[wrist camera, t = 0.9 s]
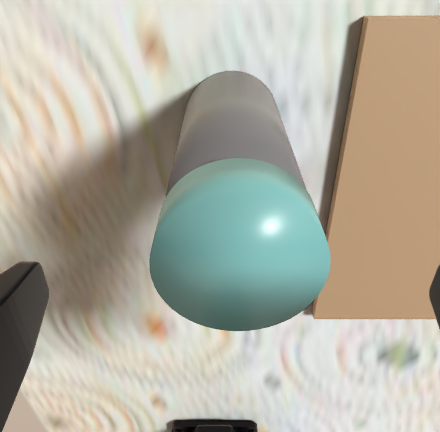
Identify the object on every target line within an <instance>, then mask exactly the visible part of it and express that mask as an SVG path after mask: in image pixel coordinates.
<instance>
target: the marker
mask: <svg viewBox="0 0 440 432" xmlns="http://www.w3.org/2000/svg"><path fill="white" fill-rule="evenodd" d="M149 262H150V273H151V278H152V281H153V283H154V286H155V288H156V290H157V292H158V293H159V295H160V296H161V297H162V299H163V300H164V301H165V302H166V303H167V304H168V305H169V306H170V307H171V308H172V309H173V310H174V311H176V312H177V313H178V314H180V315H181V316H183V317H185V318H187V319H188V320H190V321H193V322H195V323H197V324H200V325H203V326H206V327H210V328H214V329H220V330H227V331H249V330H256V329H262V328H266V327H270V326H273V325H276V324H279V323H281V322H284V321H286V320H288V319H290V318H292V317H294V316H295V315H297V314H299V313H300V312H301V311H303V310H304V309H305V308H307V307H308V306H309V305H310V304H311V303H312V302H313V301H314V300H315V299H316V297H317V296H318V295H319V293H320V292H321V290H322V289H323V287H324V285H325V283H326V281H327V278H328V275H329V271H330V263H331V259H330V250H329V246H328V242H327V239H326V236H325V234H324V231H323V228H322V226H321V223H320V220H319V217H318V215H317V212H316V209H315V206H314V204H313V201H312V199H311V197H310V195H309V193H308V192H307V190H306V187H305V184H304V181H303V179H302V176H301V173H300V170H299V167H298V165H297V162H296V159H295V156H294V153H293V151H292V148H291V145H290V142H289V139H288V136H287V134H286V131H285V128H284V125H283V122H282V120H281V117H280V114H279V111H278V108H277V105H276V103H275V100H274V98H273V95H272V94H271V92H270V90H269V89H268V88H267V86H266V85H265V84H264V83H263V82H261V81H260V80H259V79H257V78H256V77H254V76H252V75H250V74H247V73H244V72H239V71H225V72H220V73H217V74H214V75H212V76H210V77H208V78H206V79H205V80H203V81H202V82H201V83H200V84H199V85H198V86H197V87H196V88H195V89H194V91H193V92H192V94H191V96H190V98H189V100H188V103H187V107H186V111H185V115H184V120H183V124H182V128H181V133H180V137H179V141H178V146H177V150H176V154H175V159H174V163H173V167H172V172H171V176H170V180H169V185H168V189H167V193H166V198H165V200H164V202H163V204H162V208H161V211H160V215H159V219H158V223H157V227H156V232H155V236H154V240H153V244H152V248H151V253H150V261H149Z"/></svg>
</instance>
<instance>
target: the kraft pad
mask: <svg viewBox="0 0 440 432" xmlns="http://www.w3.org/2000/svg"><path fill="white" fill-rule="evenodd" d="M325 236H326V239H327V242H328V246H329V250H330V259H331V263H330V271H329V275H328V278H327V281H326V283H325V285H324V287H323V289H322V290H321V292H320V293H319V295H318V296H317V297H316V299H315V300H314V303H313V309H312V313H313V317H314V319H436V317H435V314H434V311H433V308H432V305H431V302H430V298H429V289H430V286H431V283H432V281H433V278H434V276H435V273H436V270H437V268H438V266H439V265H440V16H364V18H363V24H362V29H361V35H360V41H359V47H358V52H357V58H356V64H355V69H354V75H353V81H352V87H351V92H350V98H349V104H348V109H347V115H346V121H345V126H344V132H343V138H342V144H341V149H340V155H339V161H338V166H337V172H336V178H335V184H334V189H333V195H332V201H331V206H330V212H329V218H328V223H327V229H326V235H325Z"/></svg>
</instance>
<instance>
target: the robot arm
mask: <svg viewBox="0 0 440 432" xmlns="http://www.w3.org/2000/svg"><path fill="white" fill-rule="evenodd" d="M48 298H49V288H48V285H47V282H46V279H45V276H44V272H43V269H42V267H41V265H40V264H39V263H38V262H19V263H17V264H16V265H14V266H12V267H11V268H9V269H8V270H6V271H5V272H3V273H2V274H0V432H2V430H3V427H4V425H5V422H6V420H7V418H8V415H9V413H10V411H11V408H12V405H13V403H14V401H15V398H16V396H17V393H18V391H19V388H20V386H21V384H22V381H23V379H24V376H25V374H26V371H27V369H28V366H29V364H30V361H31V358H32V355H33V352H34V348H35V345H36V341H37V338H38V334H39V331H40V327H41V324H42V320H43V316H44V313H45V309H46V306H47V302H48ZM429 298H430V302H431V305H432V308H433V311H434V314H435V317H436V320H437V323H438V326H439V329H440V265H439V266H438V268H437V270H436V273H435V276H434V278H433V281H432V283H431V286H430V289H429ZM172 432H257V424H256V423H255V422H174V423H173V425H172Z"/></svg>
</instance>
